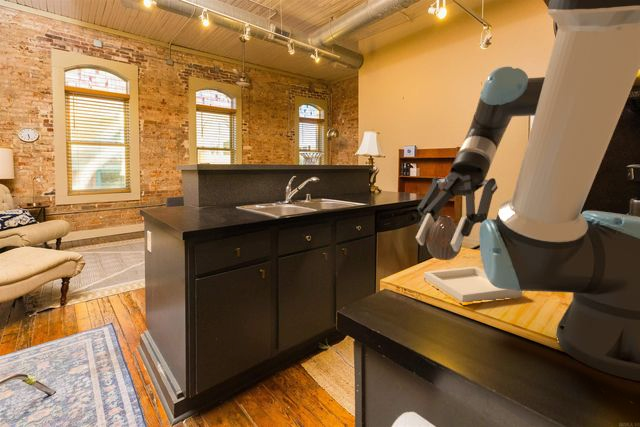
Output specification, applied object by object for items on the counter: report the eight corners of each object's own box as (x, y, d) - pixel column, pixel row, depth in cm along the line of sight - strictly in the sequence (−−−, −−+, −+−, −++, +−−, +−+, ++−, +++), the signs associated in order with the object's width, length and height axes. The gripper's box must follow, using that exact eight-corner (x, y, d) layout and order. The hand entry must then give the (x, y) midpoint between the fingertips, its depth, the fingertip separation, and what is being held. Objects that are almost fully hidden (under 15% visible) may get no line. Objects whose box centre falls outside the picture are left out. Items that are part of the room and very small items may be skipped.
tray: (521, 297, 75) (522, 287, 75) (462, 305, 72) (462, 295, 72) (474, 274, 91) (475, 266, 90) (423, 280, 87) (424, 271, 87)
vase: (420, 258, 68) (421, 217, 66) (434, 251, 73) (435, 212, 71) (453, 264, 63) (455, 220, 62) (466, 256, 68) (468, 215, 67)
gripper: (524, 173, 69) (492, 264, 60) (437, 172, 83) (400, 246, 74) (518, 147, 64) (482, 242, 56) (427, 151, 78) (387, 227, 70)
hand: (436, 244), depth 65 cm, fingers closed on vase, 7 cm apart
